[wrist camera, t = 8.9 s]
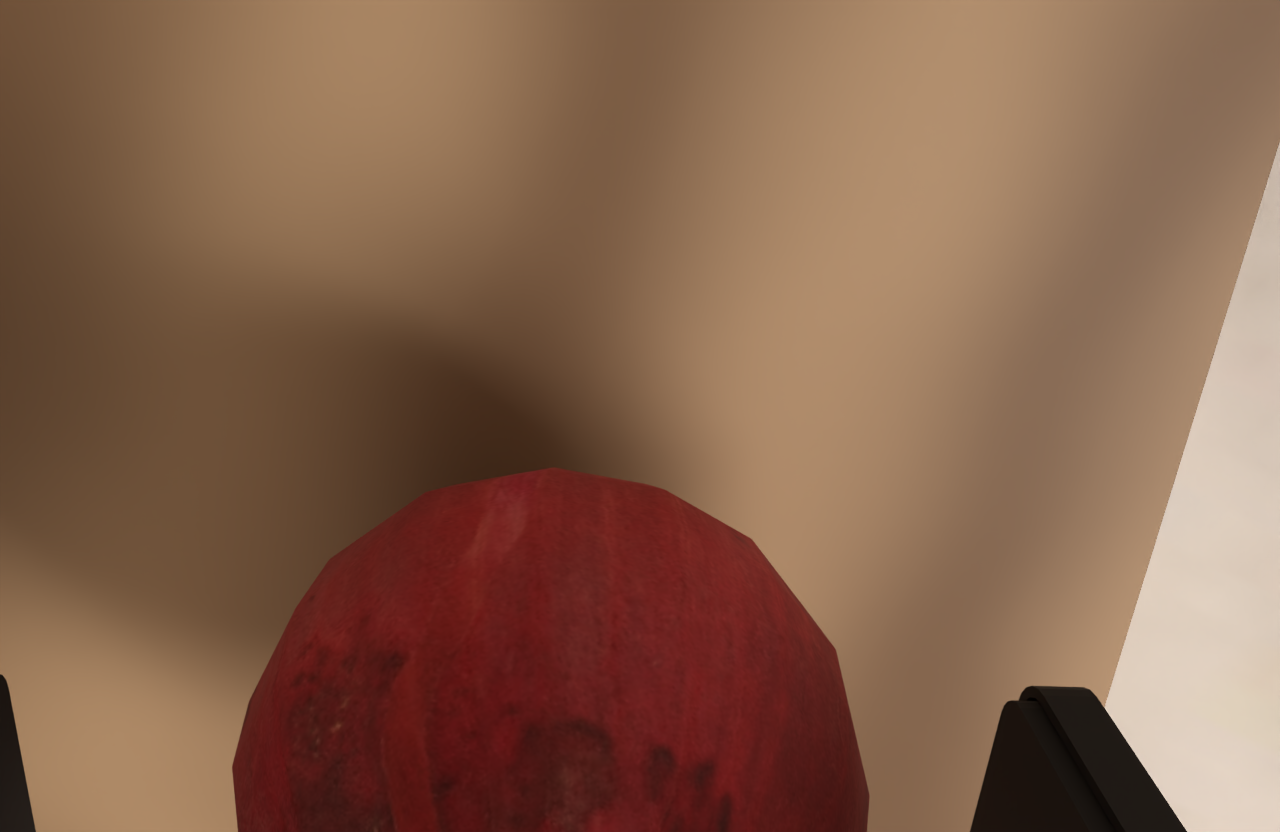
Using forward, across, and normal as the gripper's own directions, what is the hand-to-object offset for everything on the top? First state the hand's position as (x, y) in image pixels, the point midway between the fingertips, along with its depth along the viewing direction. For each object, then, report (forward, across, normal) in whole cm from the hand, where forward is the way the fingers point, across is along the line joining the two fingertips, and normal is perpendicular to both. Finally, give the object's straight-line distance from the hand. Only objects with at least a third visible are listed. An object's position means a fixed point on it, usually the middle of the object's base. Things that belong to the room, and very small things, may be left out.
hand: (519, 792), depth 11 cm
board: (+5, +1, 0) cm, 5 cm away
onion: (+4, 0, 0) cm, 4 cm away
